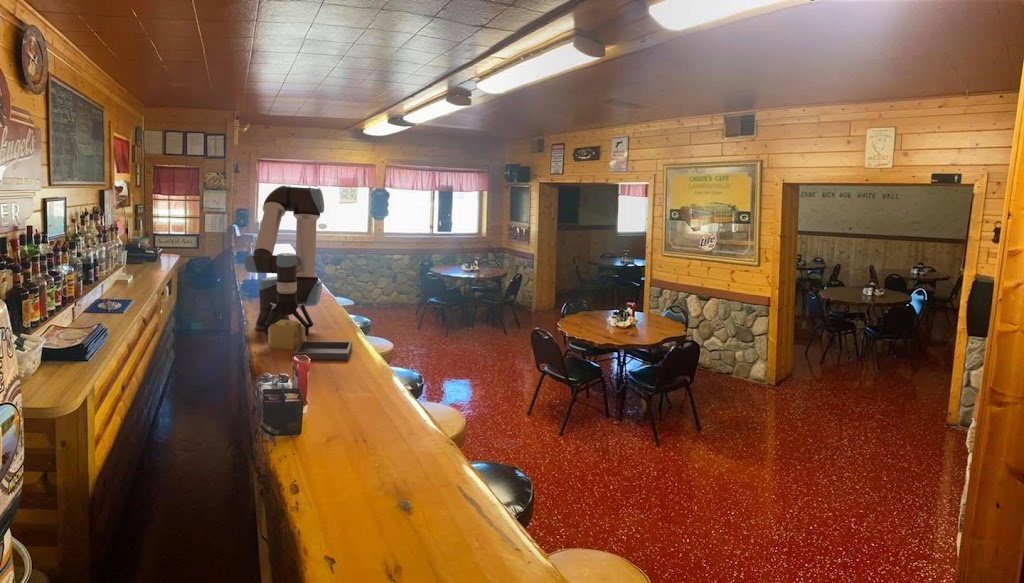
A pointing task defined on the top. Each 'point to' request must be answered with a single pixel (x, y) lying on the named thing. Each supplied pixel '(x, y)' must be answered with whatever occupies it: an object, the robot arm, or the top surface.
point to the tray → (324, 350)
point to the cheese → (286, 334)
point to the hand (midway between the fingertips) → (287, 343)
